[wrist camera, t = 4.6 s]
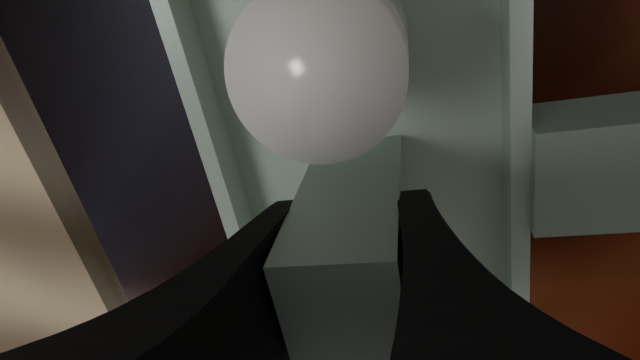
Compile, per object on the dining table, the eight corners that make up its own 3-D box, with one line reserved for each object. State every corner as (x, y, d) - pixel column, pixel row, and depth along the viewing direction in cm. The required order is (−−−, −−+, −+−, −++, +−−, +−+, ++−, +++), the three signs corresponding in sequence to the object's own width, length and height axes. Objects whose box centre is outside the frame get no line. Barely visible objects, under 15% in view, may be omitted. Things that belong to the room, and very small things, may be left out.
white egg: (409, 94, 13) (410, 162, 9) (290, 100, 13) (241, 166, 9) (407, -42, 11) (406, -34, 7) (273, -27, 12) (206, -12, 8)
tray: (658, 327, 15) (809, 558, 10) (281, 332, 19) (225, 507, 13) (747, -176, 9) (1283, -363, 4) (169, -42, 13) (-32, -30, 7)
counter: (238, 270, 25) (162, 417, 18) (61, 278, 28) (-71, 407, 21) (106, -127, 17) (-147, -180, 9) (-125, -59, 20) (-464, -57, 12)
